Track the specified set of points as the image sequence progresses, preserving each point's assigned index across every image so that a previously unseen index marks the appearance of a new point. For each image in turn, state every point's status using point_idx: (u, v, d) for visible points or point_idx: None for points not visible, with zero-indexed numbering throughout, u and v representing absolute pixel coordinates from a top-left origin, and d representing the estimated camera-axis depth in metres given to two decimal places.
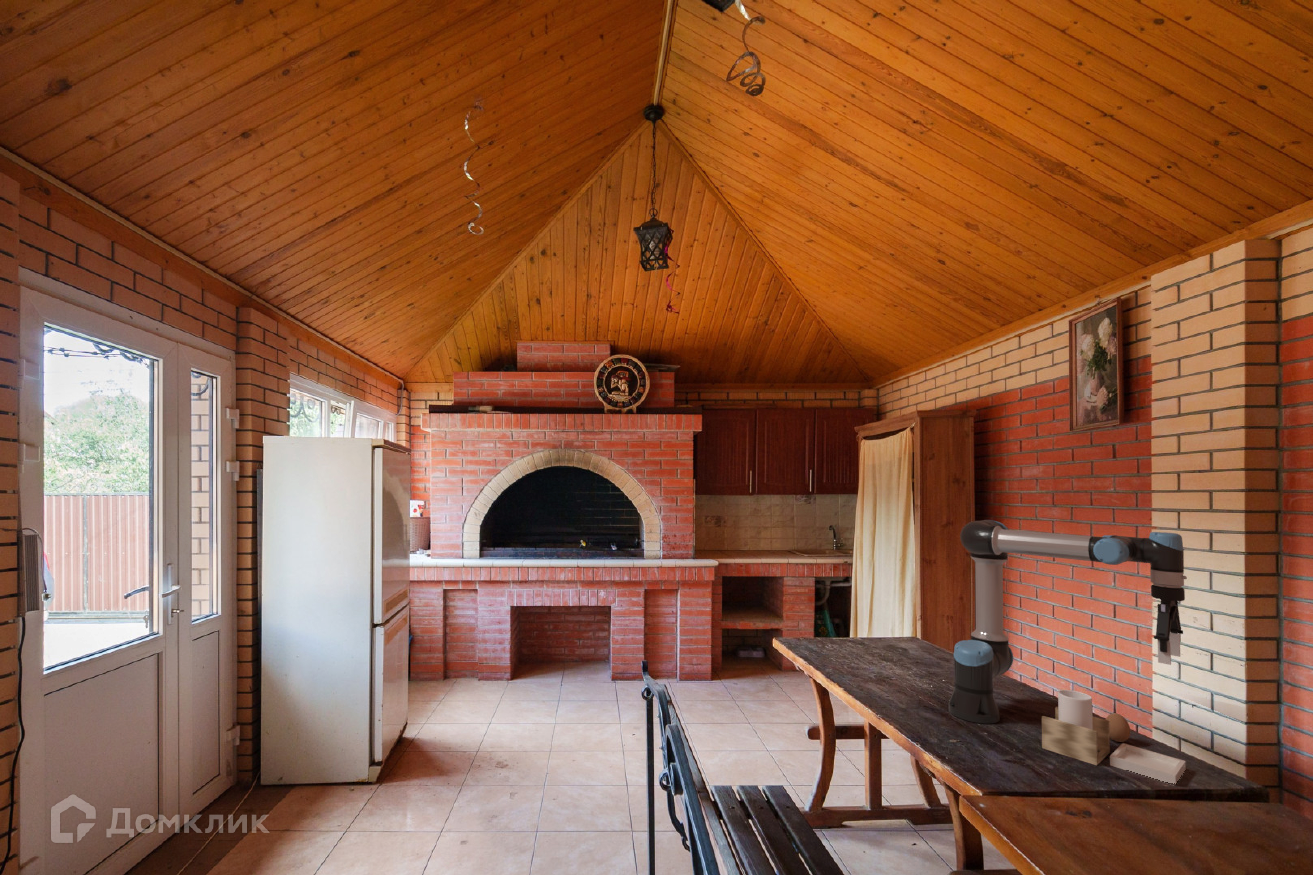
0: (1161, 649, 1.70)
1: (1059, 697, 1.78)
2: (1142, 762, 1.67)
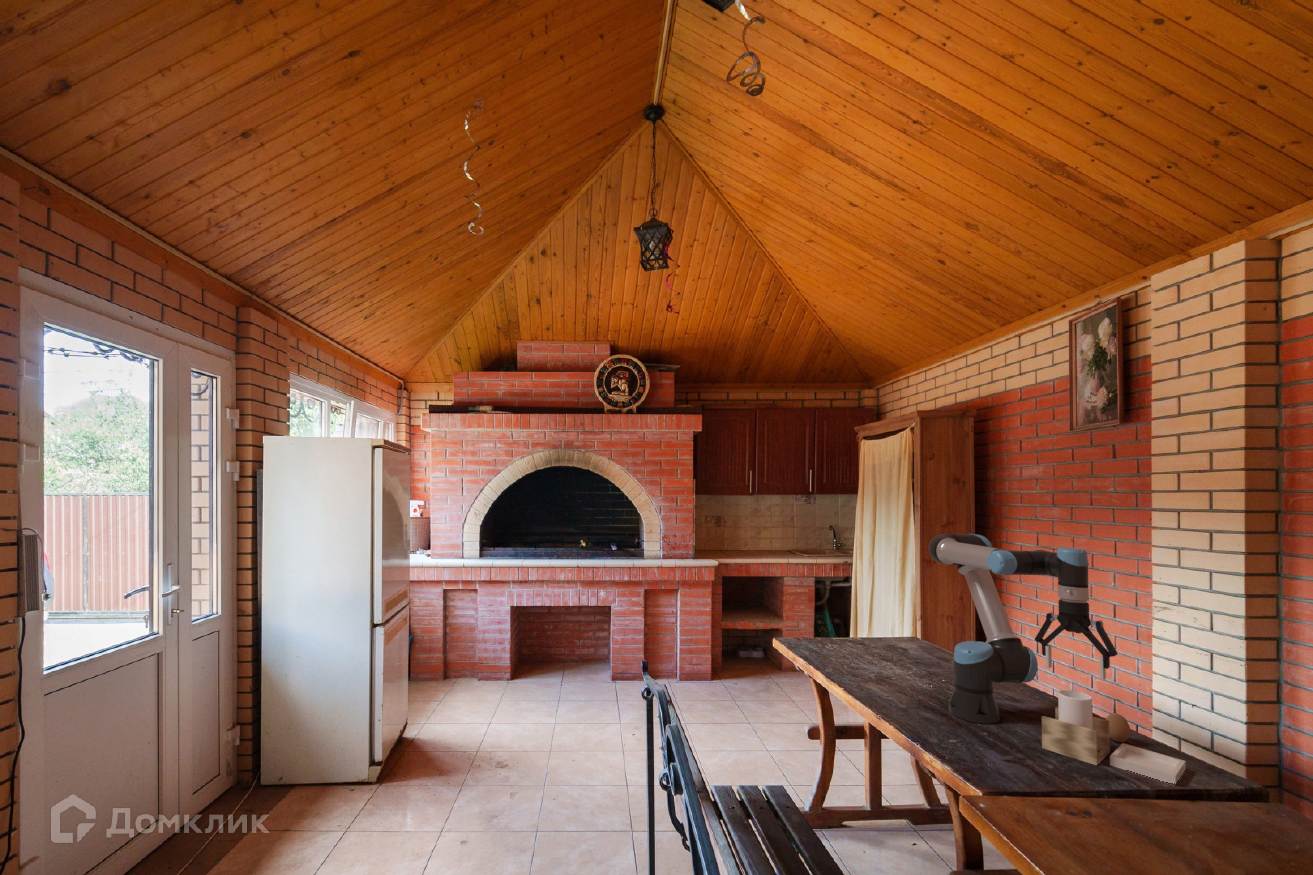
0: None
1: (1059, 697, 1.78)
2: (1142, 762, 1.67)
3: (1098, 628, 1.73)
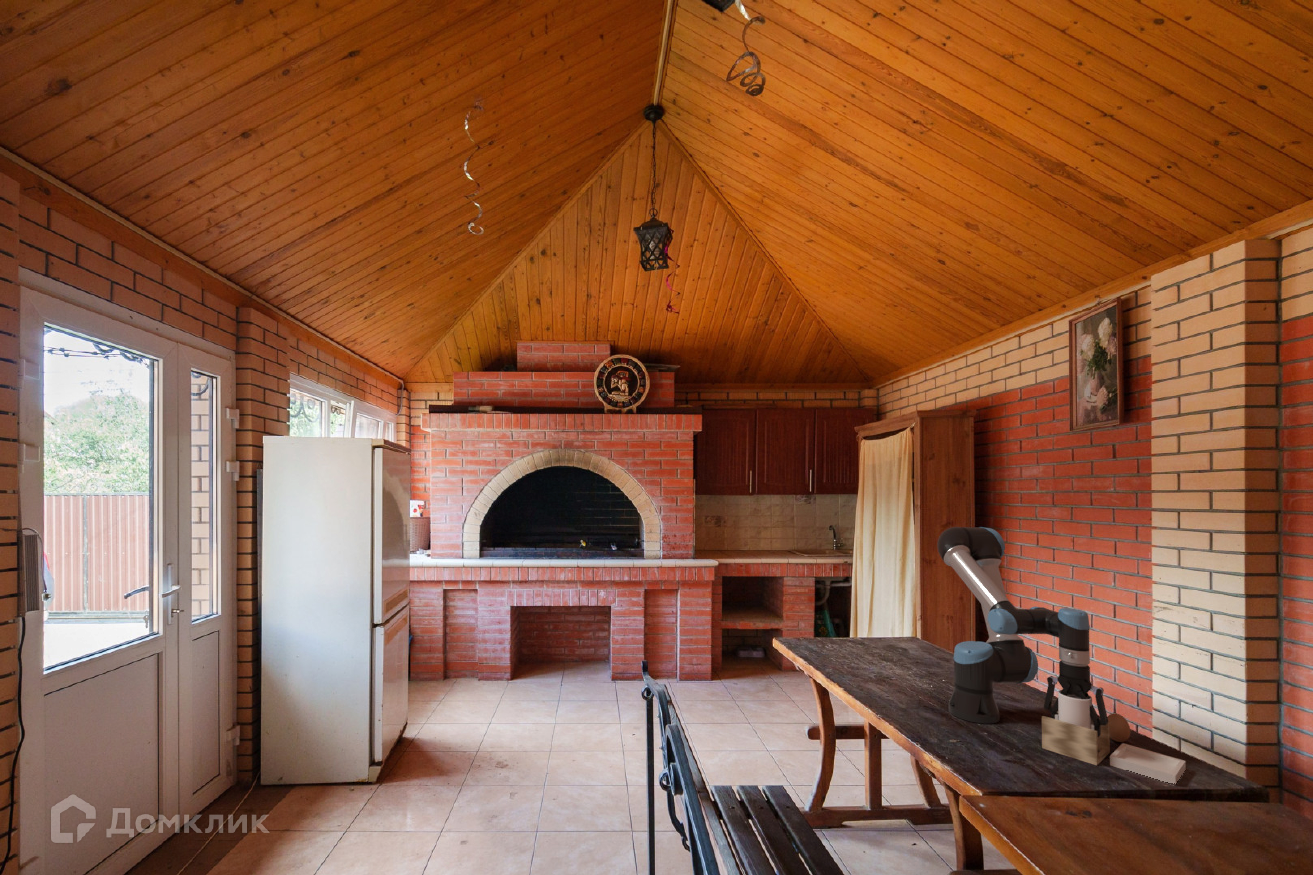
0: None
1: (1059, 697, 1.78)
2: (1142, 762, 1.67)
3: (1097, 695, 1.72)
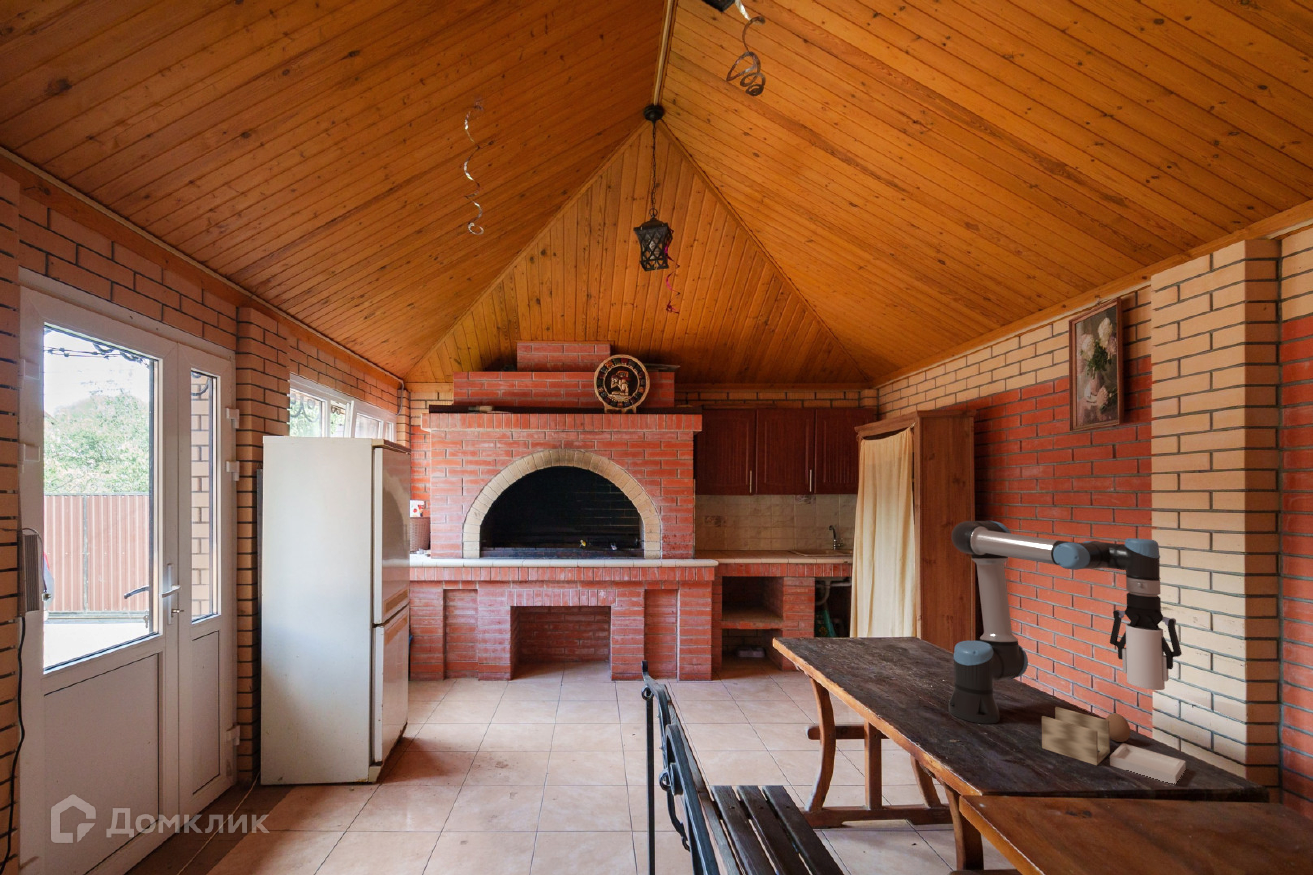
0: None
1: (1127, 629, 1.70)
2: (1142, 762, 1.67)
3: (1170, 626, 1.64)
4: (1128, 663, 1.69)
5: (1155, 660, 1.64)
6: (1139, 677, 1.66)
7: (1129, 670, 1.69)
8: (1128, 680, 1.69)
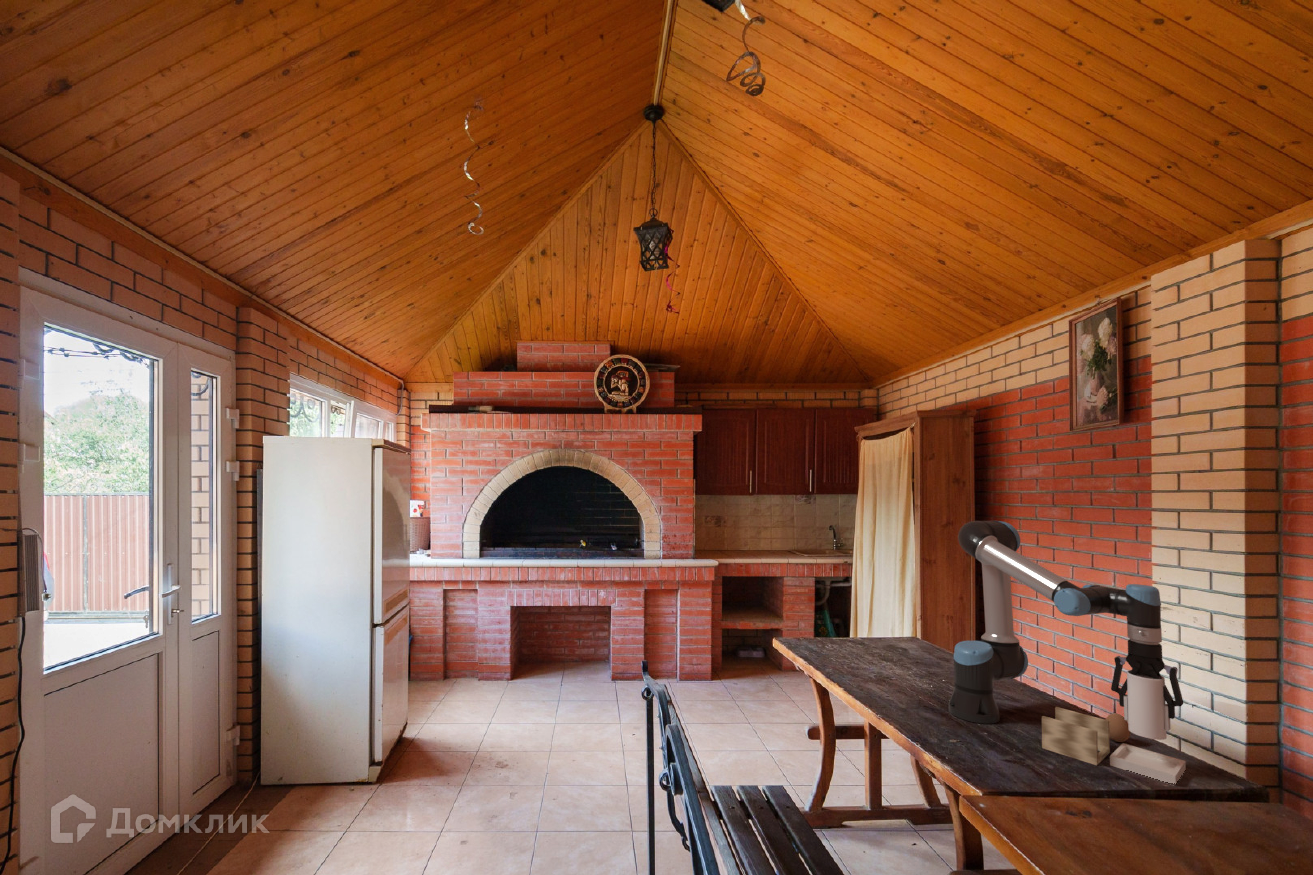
0: None
1: (1128, 677, 1.69)
2: (1142, 762, 1.67)
3: (1171, 675, 1.63)
4: (1130, 711, 1.68)
5: (1157, 709, 1.63)
6: (1141, 726, 1.65)
7: (1130, 718, 1.68)
8: (1130, 728, 1.68)
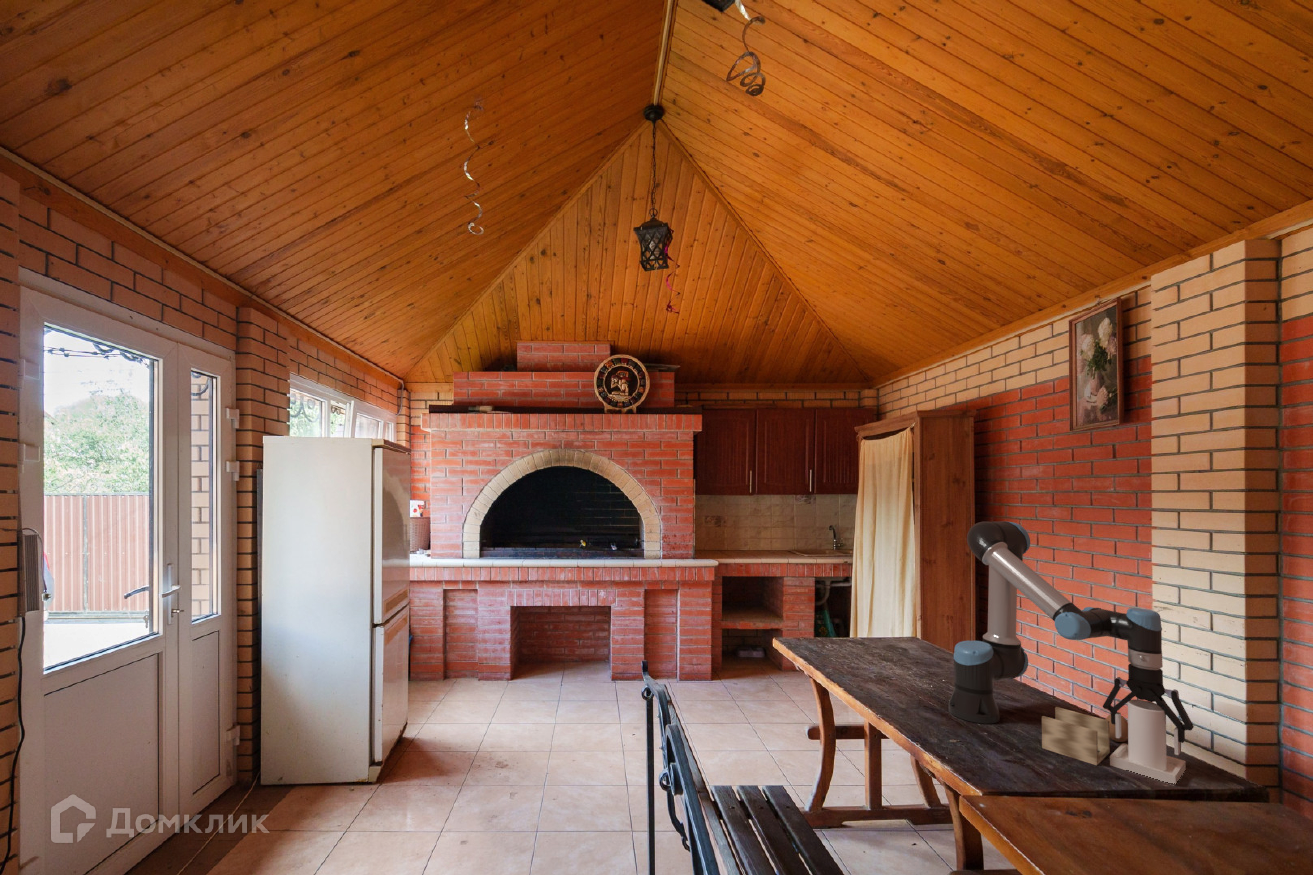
0: None
1: (1129, 707, 1.68)
2: None
3: (1174, 698, 1.62)
4: (1130, 741, 1.67)
5: (1157, 741, 1.63)
6: (1141, 757, 1.64)
7: (1130, 748, 1.67)
8: (1130, 758, 1.67)
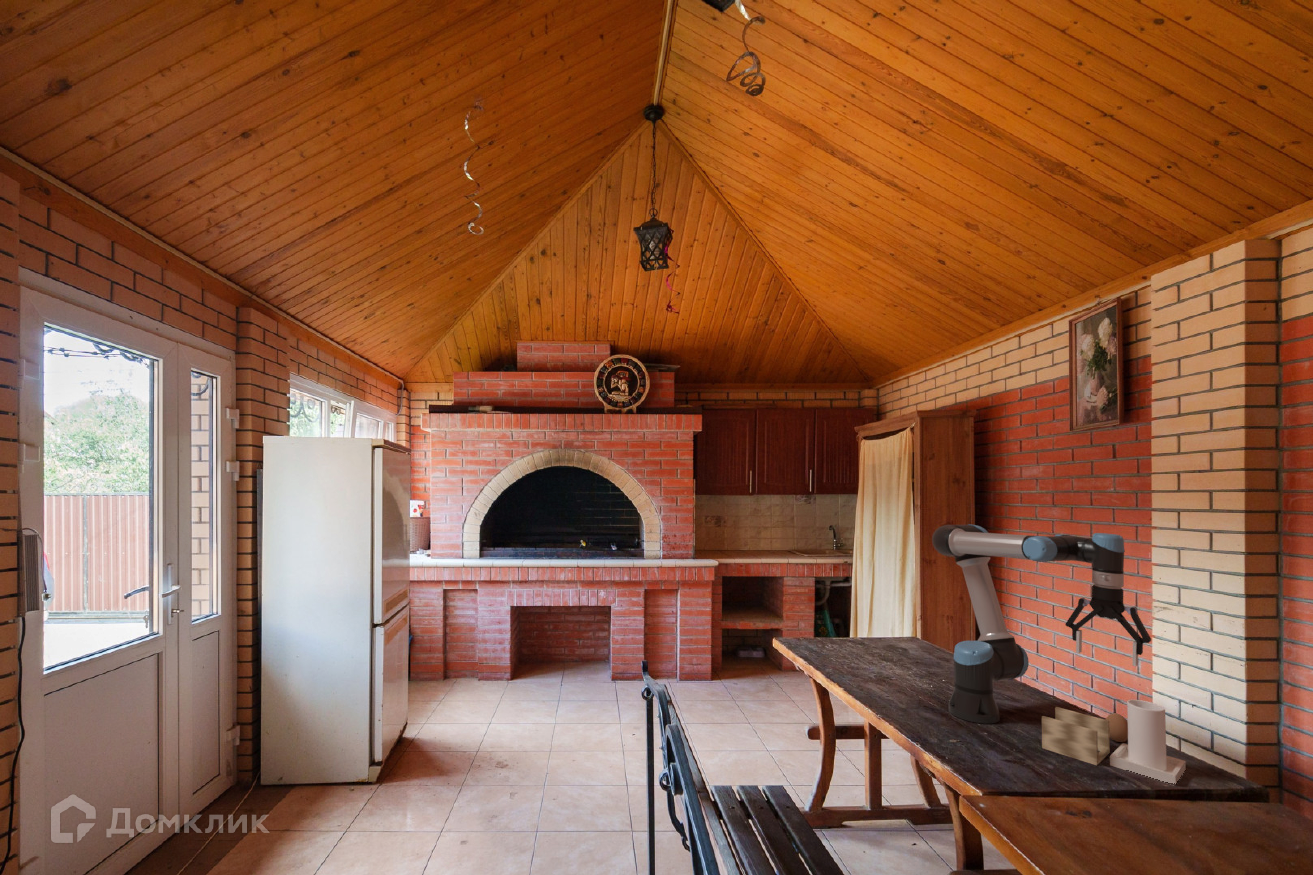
0: None
1: (1129, 707, 1.68)
2: None
3: (1132, 614, 1.72)
4: (1130, 741, 1.68)
5: (1157, 741, 1.63)
6: (1141, 757, 1.64)
7: (1130, 749, 1.67)
8: (1130, 758, 1.67)
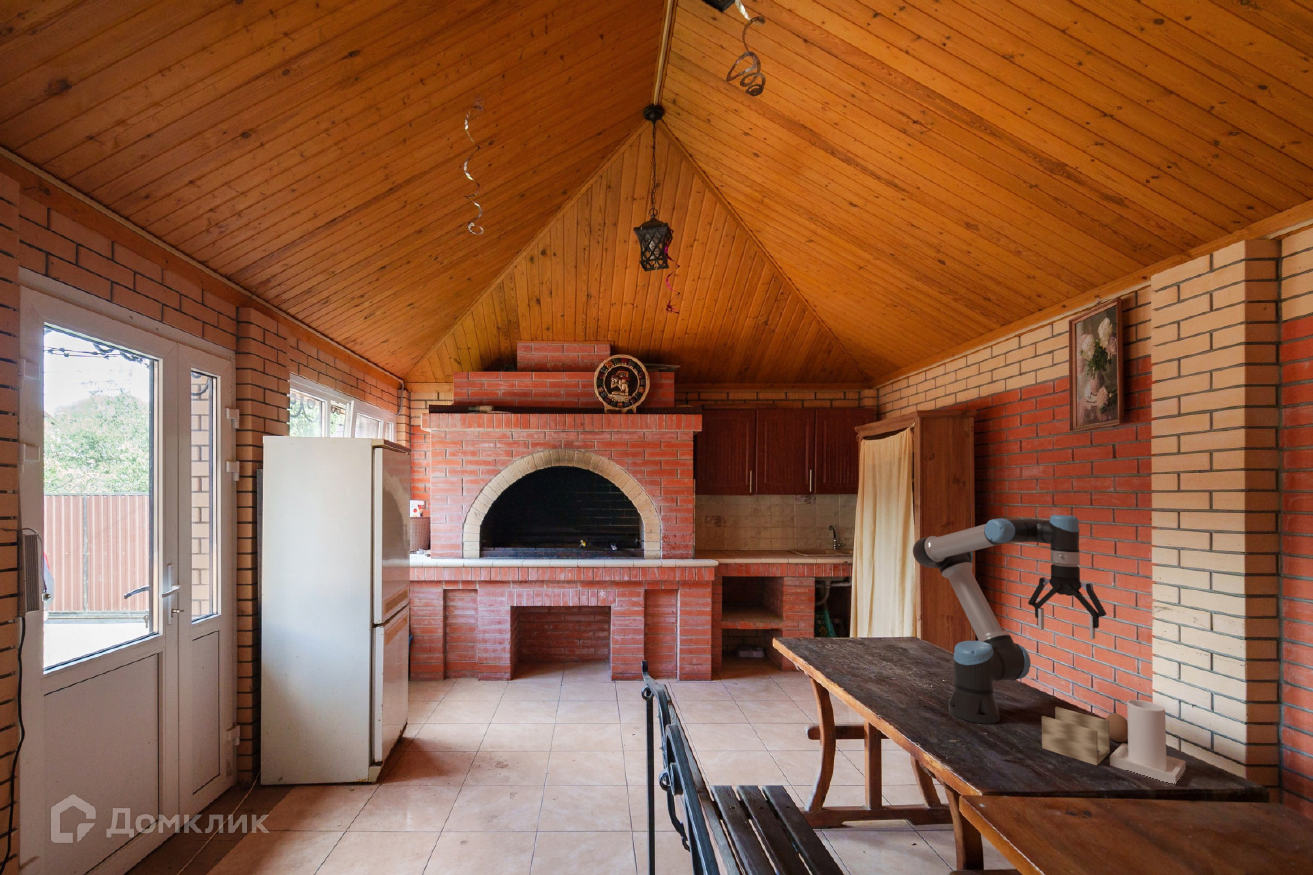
0: None
1: (1129, 707, 1.68)
2: None
3: (1088, 590, 1.82)
4: (1130, 741, 1.68)
5: (1157, 740, 1.63)
6: (1141, 757, 1.64)
7: (1130, 748, 1.67)
8: (1130, 758, 1.67)
